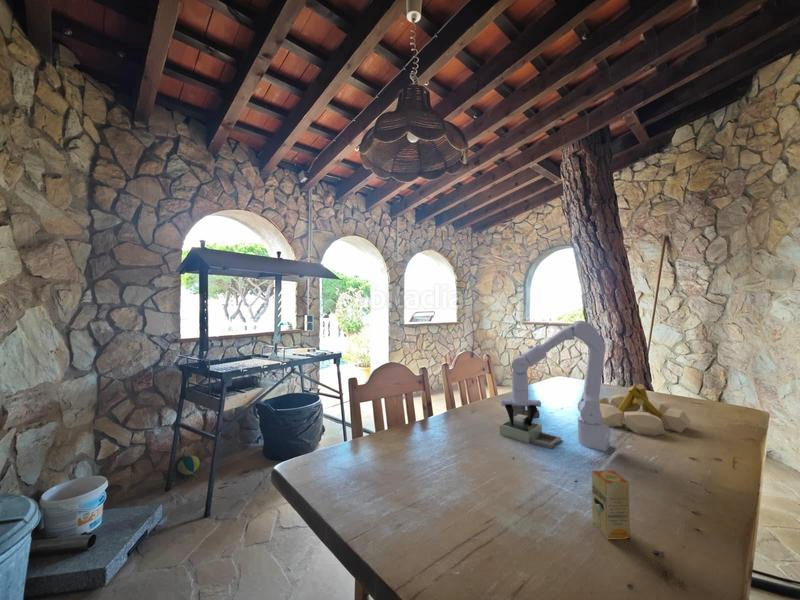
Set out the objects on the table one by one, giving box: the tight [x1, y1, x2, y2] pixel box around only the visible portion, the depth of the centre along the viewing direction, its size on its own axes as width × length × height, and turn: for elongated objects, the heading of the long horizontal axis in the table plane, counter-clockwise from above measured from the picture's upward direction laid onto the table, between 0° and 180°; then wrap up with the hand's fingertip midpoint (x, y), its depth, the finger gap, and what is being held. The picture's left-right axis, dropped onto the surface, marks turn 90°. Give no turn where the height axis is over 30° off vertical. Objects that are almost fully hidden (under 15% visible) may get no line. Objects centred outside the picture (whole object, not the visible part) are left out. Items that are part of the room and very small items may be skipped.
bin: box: [499, 419, 543, 444], centre depth 125 cm, size 11×11×5 cm
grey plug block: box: [513, 414, 528, 432], centre depth 124 cm, size 4×5×7 cm
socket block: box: [528, 431, 563, 450], centre depth 118 cm, size 10×10×2 cm
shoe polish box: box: [591, 470, 631, 539], centre depth 72 cm, size 5×5×12 cm
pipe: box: [512, 406, 540, 420], centre depth 144 cm, size 6×13×8 cm, turn 89°
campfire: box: [599, 382, 692, 437], centre depth 141 cm, size 35×34×17 cm
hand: (520, 425), depth 125 cm, fingers closed on grey plug block, 6 cm apart
